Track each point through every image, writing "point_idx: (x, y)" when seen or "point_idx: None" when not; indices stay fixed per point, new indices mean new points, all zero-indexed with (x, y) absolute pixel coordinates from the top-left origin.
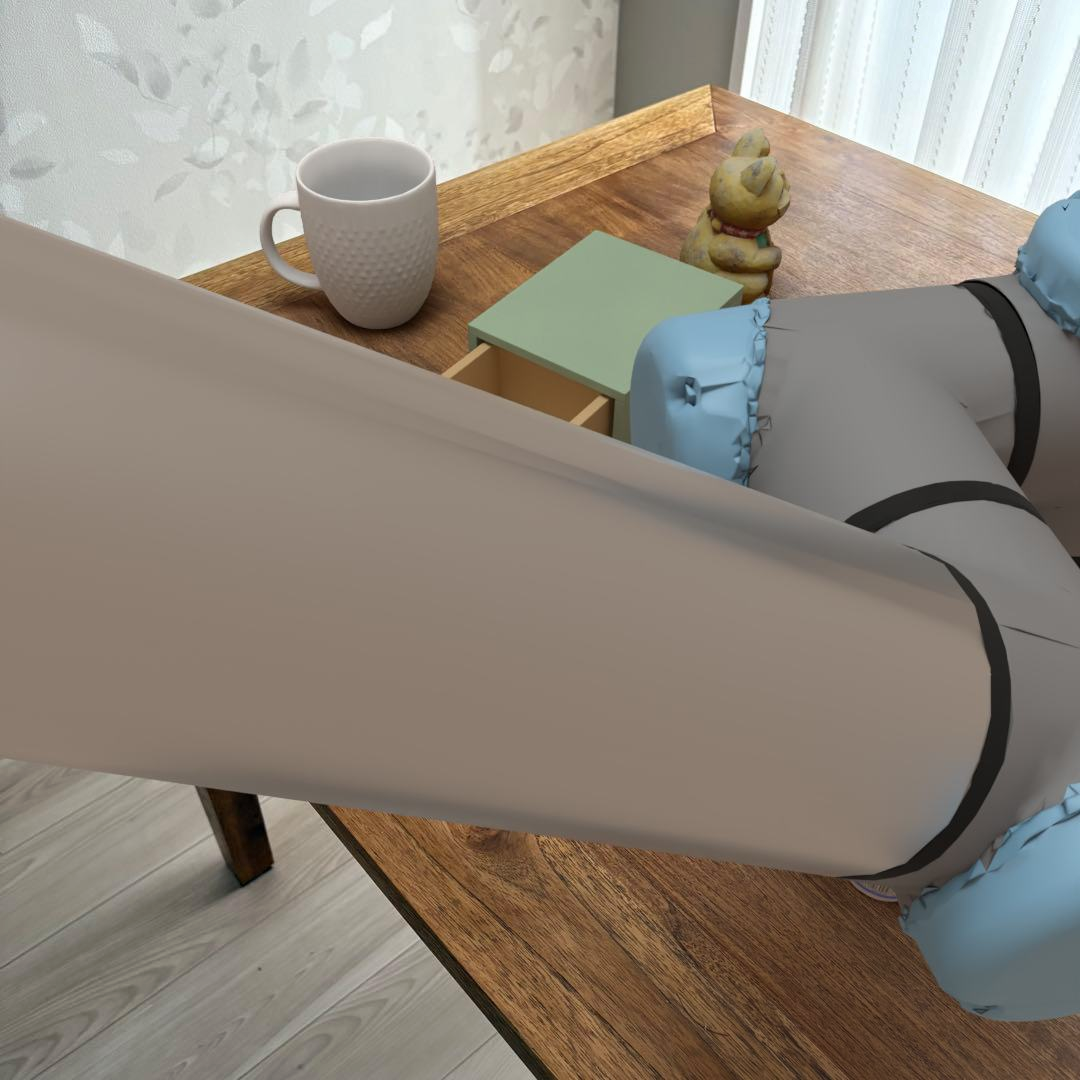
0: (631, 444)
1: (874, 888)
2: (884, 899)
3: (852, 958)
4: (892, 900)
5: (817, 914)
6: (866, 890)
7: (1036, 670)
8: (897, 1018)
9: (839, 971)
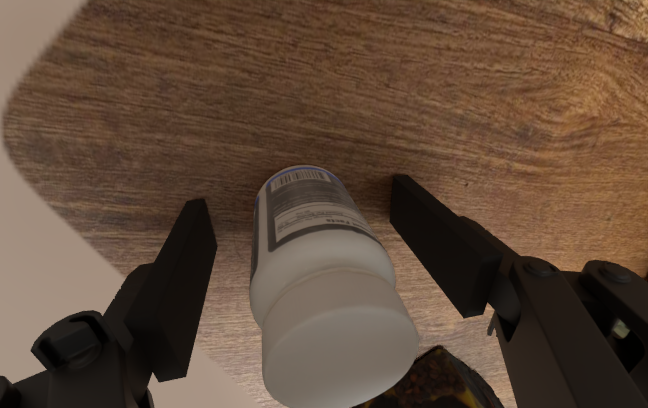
0: None
1: (294, 173)
2: (278, 173)
3: (267, 84)
4: (270, 178)
5: (328, 107)
6: (299, 167)
7: None
8: (175, 45)
9: (269, 55)
